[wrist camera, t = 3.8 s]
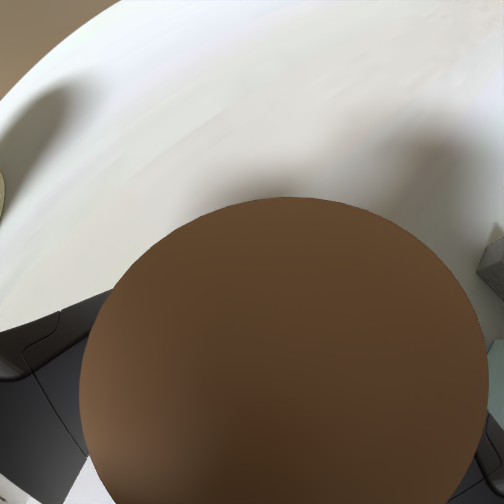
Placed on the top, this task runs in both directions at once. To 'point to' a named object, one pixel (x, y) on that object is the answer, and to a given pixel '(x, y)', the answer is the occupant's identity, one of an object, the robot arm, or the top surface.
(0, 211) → the can
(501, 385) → the socket block
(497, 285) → the backstop bar
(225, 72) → the top surface
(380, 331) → the dowel
